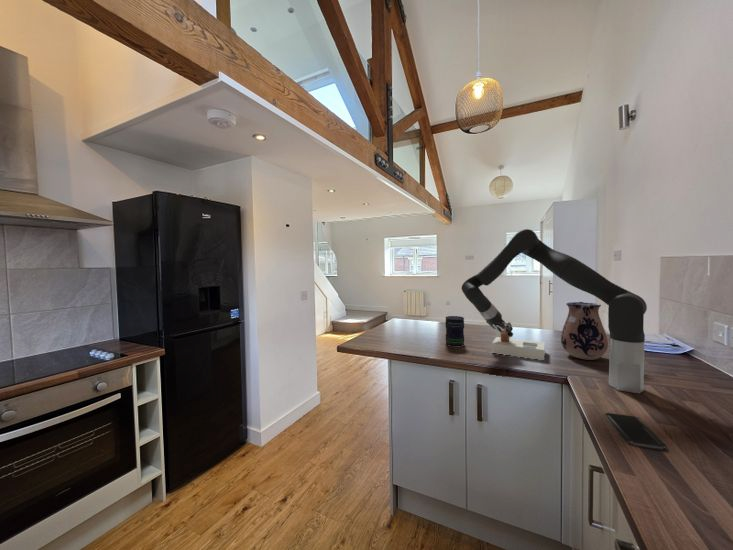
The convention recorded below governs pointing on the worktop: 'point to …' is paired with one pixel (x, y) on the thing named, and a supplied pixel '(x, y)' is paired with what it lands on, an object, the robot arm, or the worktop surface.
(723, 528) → the worktop surface
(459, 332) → the storage jar
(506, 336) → the peg
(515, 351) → the socket block
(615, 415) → the phone
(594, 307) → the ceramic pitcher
